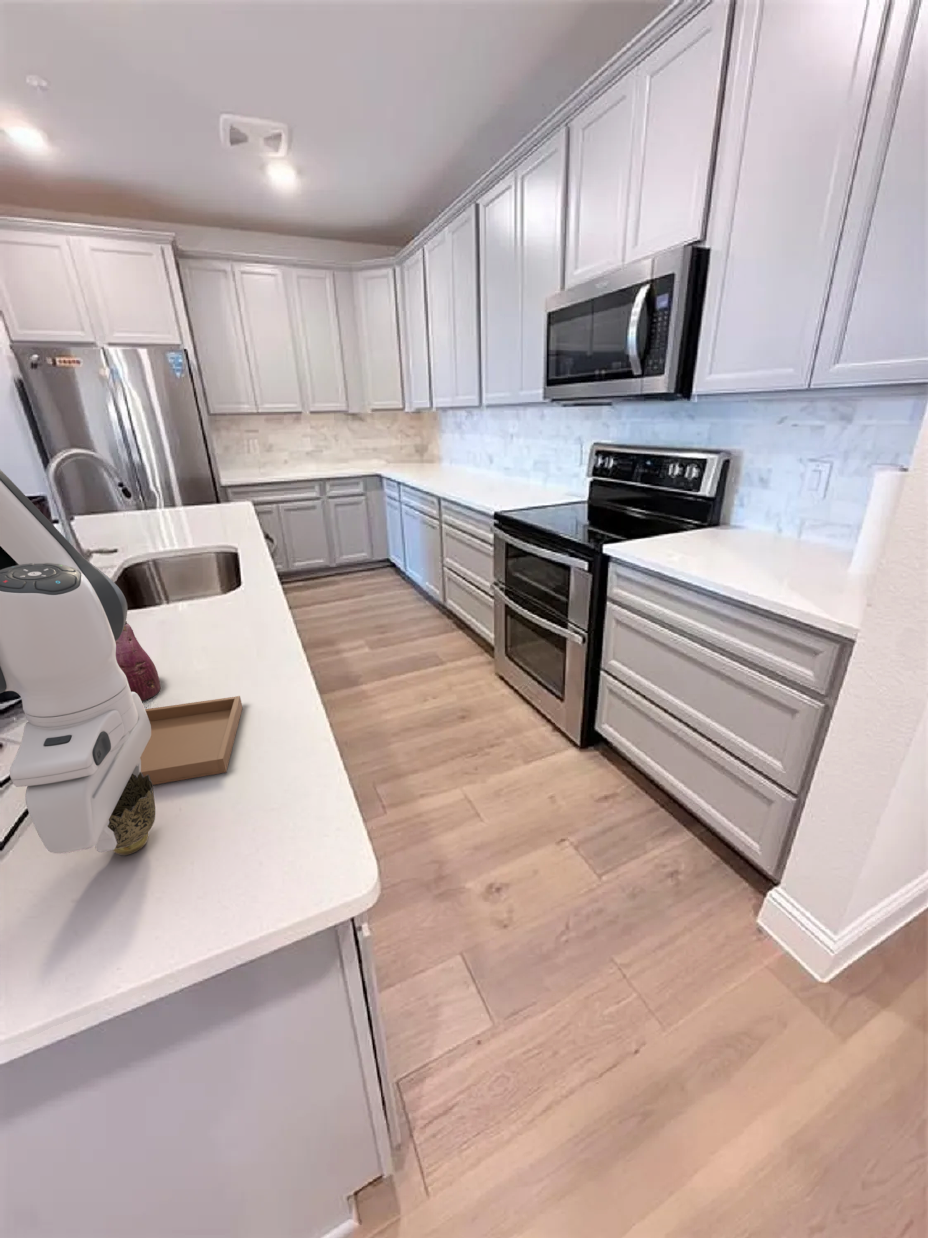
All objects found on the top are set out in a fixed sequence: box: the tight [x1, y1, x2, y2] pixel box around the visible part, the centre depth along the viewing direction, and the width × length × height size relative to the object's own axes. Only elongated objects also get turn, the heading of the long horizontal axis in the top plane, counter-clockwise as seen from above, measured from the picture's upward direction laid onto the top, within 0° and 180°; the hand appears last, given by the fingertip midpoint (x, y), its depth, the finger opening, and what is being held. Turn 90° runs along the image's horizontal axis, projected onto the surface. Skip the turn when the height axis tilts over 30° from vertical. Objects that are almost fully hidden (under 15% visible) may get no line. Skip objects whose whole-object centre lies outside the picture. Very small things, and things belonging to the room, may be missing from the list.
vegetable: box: [116, 620, 161, 702], centre depth 92 cm, size 10×10×15 cm
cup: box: [108, 772, 157, 856], centre depth 59 cm, size 8×7×8 cm
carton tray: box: [140, 695, 243, 786], centre depth 77 cm, size 22×18×2 cm
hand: (122, 818), depth 59 cm, fingers closed on cup, 7 cm apart
